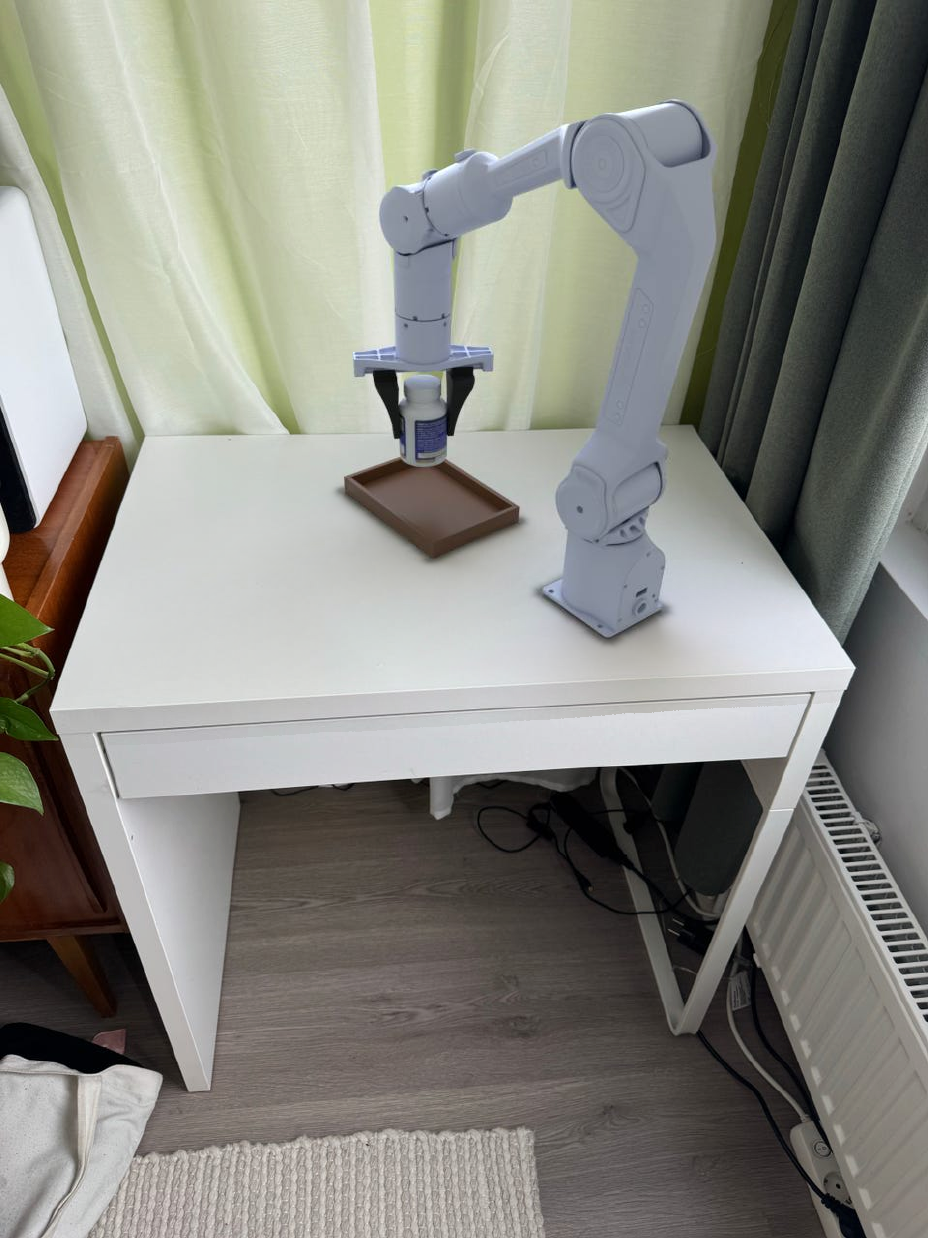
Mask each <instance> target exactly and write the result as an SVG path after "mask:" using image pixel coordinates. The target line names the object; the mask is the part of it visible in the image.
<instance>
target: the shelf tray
mask: <svg viewBox="0 0 928 1238" xmlns="http://www.w3.org/2000/svg"><path fill="white" fill-rule="evenodd" d="M343 480H344V492H345V493H347V494H348V495H349V496H350V497H352V498H353V499H354V500H356V501H357V502H358V503H359V504H360V505H362V506H363V507H365V508H366V509H367V510H369V511H370V512H371V513H372V514H374V515H375V516H376V517H378V518H379V519H380V520H382V521H383V522H384V523H385V524H387V525H389V527H391V528H392V529H394V530H395V531H396V532H397V533H399V534H400V535H401V536H403V537H404V538H405V539H406V540H408V541H409V542H411V543H412V544H413V545H414V546H416V548H417V547H418V549H420V551H422V552H424V553H425V554H426V555H427V556H429V557H430V558H432V559H436V558H437V557H440V556H442V555H444V554H447V553H449V552H451V551H454V550H456V549H458V548H460V547H464V546H465V545H467V544H471V543H472V542H474V541H477V540H479V539H481V538H485V537H486V536H488V535H491V534H493V533H496V532H498V531H500V530H502V529H505V528H507V527H509V526H511V525H514V524H516V523H519V522H520V521H519V520H520V509H521V508H520V506H519V505H518V504H516V503H515V502H513V501H512V500H510V499H509V498H507V497H505V496H504V495H502V494H501V493H499V492H498V491H496V490H495V489H493V488H492V487H490V486H488V485H487V484H485V483H484V482H482V480H480V479H478V478H476V477H474V476H473V475H472V474H470V473H469V472H468V471H465V470H464V469H462V468H461V467H459V466H457V465H456V464H455V463H453V462H451V461H450V460H448V459H447V458H446V459H445V460H444V461H443V462H442V463H440V464H438V465H435V466H430V467H416V466H412V465H409V464H407V463H406V462H404V461H403V460H402V459H401V457H400V456H398V457H396V458H392V459H390V460H387V461H384V462H382V463H378V464H376V465H373V466H370V467H367V468H365V469H362V470H359V471H356V472H353V473H350V474H348V475H345V476H343Z"/></svg>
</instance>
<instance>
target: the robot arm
mask: <svg viewBox="0 0 928 1238" xmlns="http://www.w3.org/2000/svg"><path fill="white" fill-rule="evenodd" d="M718 152H719V146H718V143H717V142H716V140H715V138H714V136H713V134H712V132H711V131H710V129H709V127H708V125H707V123H706V122H705V119H704V117H703V116H702V115H701V113H700V111H699V110H698V109H697V108H696V107H695V106H693V105H692V104H691V103H689V102H687V101H685V100H682V99H675V98H674V99H667V100H664V101H660V102H659V103H657V104H656V105H655V104H654V105H651V106H646V107H641V108H637V109H632V110H631V109H630V110H628V111H622V112H617V113H613V112H605V113H600V114H597V115H595V116H593V117H592V118H589V119H584V120H579V121H575V122H570V123H565V124H563V125H561V126H559V127H557V128H555V129H554V130H552V131H550V132H548V133H546V134H544V135H542V136H540V137H538V138H536V139H535V140H533V141H531V142H529V143H527V144H525V145H524V146H522V147H520V148H517V149H516V150H515V151H511V153H509V154H507V155H505V156H503V157H502V158H499V157H498V156H496V155H494V153H493V154H492V153H491V152H487V151H478V152H477V151H476V149H475V148H470V149H464V150H462V151H460V152H458V153H455V154H454V160H455V163H453V164H451V165H448V166H447V167H445V168H443V169H441V170H439V169H438V168H431V169H428V170H426V171H423V172H422V174H421V178H422V179H421V181H419V182H416V183H411V184H408V185H399V184H398V185H393V186H392V187H390V189H389V190H388V191H387V192H386V193H384V195H383V196H382V199H381V200H380V204H379V211H378V220H379V225H380V229H381V233H382V234H383V237H384V240H385V241H386V242H387V244H388V245H389V246H390V247H391V248H392V249H393V250H392V255H393V259H392V260H393V297H394V300H393V301H394V303H393V304H394V338H395V339H394V340H395V343H394V344H395V345H391V346H385V347H379V348H375V349H370V350H363V351H352V370H353V376H354V378H364V377H365V376H366V375H372V378H373V385H374V387H375V390H376V392H377V394H378V396H379V397H380V400H381V401H382V404H383V405H384V407H385V409H386V412H387V415H388V417H389V420H390V423H391V430H392V435H393V439H394V440H399V439H401V430H400V421H399V403H400V400H399V399H400V386H399V382H398V379H399V378H398V375H397V373H399V374H400V373H432V372H445V384H446V386H445V389H446V391H445V392H446V400H445V402H446V404H447V437H454V436H455V430H456V426H457V423H458V420H459V418H460V417H459V416H460V413H461V411H462V409H463V407H464V405H465V402H466V401H467V399H468V397H469V395H470V394H471V392H472V391H473V389H474V388H475V383H476V377H475V374H474V370H481V371H482V372H484V373H485V372H486V373H488V372H494V358H495V357H494V355H495V354H494V352H493V350H492V347H491V346H474V345H473V346H472V345H464V344H463V345H462V344H454V343H452V303H453V302H452V301H453V300H452V296H453V292H452V291H453V261H454V260H455V257H457V255H458V249H457V248H458V243H459V240H460V239H461V237H462V236H463V235H466V234H468V233H471V232H473V231H476V230H478V229H481V228H484V227H486V226H489V225H492V224H495V223H497V222H499V221H501V220H503V219H504V218H506V216H507V215H509V212H510V210H511V208H512V205H513V202H514V198H515V197H518V196H521V195H524V194H526V193H529V192H532V191H534V190H538V189H541V188H543V187H545V186H548V185H551V184H553V183H555V182H559V181H561V180H562V181H563V183H564V186H565V188H566V189H568V190H574V189H577V190H578V192H579V194H580V195H581V197H583V199H584V200H585V201H586V202H587V203H588V205H589V206H590V207H591V208H592V209H593V210H594V211H595V212H596V213H597V214H598V215H599V217H601V219H602V220H603V221H604V222H606V224H607V225H608V226H609V227H610V228H611V230H613V231H614V232H615V233H616V234H617V235H618V236H619V238H621V239H622V241H623V242H624V243H625V244H626V245H627V246H629V247H631V249H632V250H633V252H634V254H635V255H636V257H637V262H636V266H635V269H634V274H633V279H632V282H631V286H630V290H629V294H628V298H627V302H626V305H625V309H624V313H623V318H622V322H621V326H620V329H619V333H618V338H617V341H616V345H615V348H614V349H615V350H614V352H613V357H612V361H611V365H610V369H609V372H608V373H609V374H608V377H607V381H606V385H605V389H604V393H603V395H602V396H603V397H602V401H601V404H600V408H599V412H598V416H597V420H596V424H595V428H594V431H593V433H592V434H591V435H590V436H589V438H588V439H587V441H586V442H585V443H584V444H583V446H582V447H581V448H580V450H579V451H578V452H577V453H576V455H575V456H574V457H573V459H572V461H571V462H572V463H571V467H570V470H569V472H568V474H567V475H566V476H565V477H564V478H563V479H562V480H561V481H560V482H559V484H558V486H557V488H556V491H555V496H554V497H555V500H554V501H555V507H556V511H557V514H558V516H559V518H560V521H561V522H562V524H563V525H564V529H565V530H567V534H566V541H565V542H566V543H565V551H564V561H563V570H562V578H559V579H557V580H556V581H554V582H552V583H549V584H547V585H545V586H543V587H542V593H543V594H544V595H545V596H547V597H548V598H549V599H550V600H552V601H553V602H555V603H556V604H558V605H560V607H562V608H563V609H565V610H567V611H568V612H569V613H571V614H572V615H573V616H575V617H576V618H578V619H579V620H580V621H582V622H583V623H585V624H586V625H587V626H588V627H590V628H591V629H593V630H594V631H595V632H597V633H599V634H600V635H602V636H603V637H604V638H608V639H609V638H612V637H614V636H615V635H617V634H619V633H621V632H623V631H624V630H627V629H628V628H630V627H632V626H633V625H635V624H637V623H639V622H641V621H643V620H645V619H646V618H648V617H650V616H652V615H653V614H656V613H658V612H659V611H661V610H662V608H663V604H662V603H661V602H659V600H660V594H661V591H662V590H661V589H662V585H663V580H664V574H665V568H666V564H667V563H666V562H667V561H666V555H665V553H664V551H663V550H662V549H661V548H659V547H658V545H656V544H655V543H654V541H652V539H651V538H650V535H648V532H647V531H646V522H647V519H648V517H649V512H650V507H651V506H652V505H654V504H656V503H658V502H659V500H661V498H662V496H663V495H664V493H665V490H666V487H667V476H666V471H665V469H666V468H665V464H666V463H665V462H666V458H667V454H668V451H669V449H668V446H667V445H666V444H665V443H664V442H663V440H661V439H660V437H659V436H658V435H659V433H660V432H659V431H660V429H661V425H662V422H663V419H664V416H665V412H666V409H667V406H668V403H669V399H670V396H671V393H672V390H673V386H674V383H675V379H676V377H677V373H678V371H679V367H680V363H681V360H682V357H683V354H684V351H685V347H686V344H687V341H688V337H689V334H690V331H691V328H692V325H693V322H694V318H695V315H696V313H697V310H698V309H697V308H698V306H699V302H700V299H701V296H702V293H703V289H704V286H705V284H706V283H705V282H706V280H707V276H708V273H709V270H710V267H711V263H712V260H713V257H714V253H715V250H716V244H717V227H716V218H715V217H716V215H715V204H714V194H713V179H712V172H713V169H714V166H715V162H716V158H717V157H718V156H717V155H718Z"/></svg>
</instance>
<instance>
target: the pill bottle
mask: <svg viewBox="0 0 928 1238" xmlns="http://www.w3.org/2000/svg"><path fill="white" fill-rule="evenodd" d="M403 395H404V397H403V398H402V399H401V400H400V401H399V421H400V430H401V439H398V440H399V457H401V459H402V460H403V461H404V462H406V463H407V464H409V465H412V466H416V467H430V466H435V465H438V464H440V463H442V462H443V461H444V460H445V459H447V457H448V436H447V404H446V400H445V399H444V398H443V397H441V396H442V381H441V379H440V378H439V377H437V376H434V375H431V374H414V375H411V376H408V377H407V378H406V379H405V378H404V381H403Z"/></svg>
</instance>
